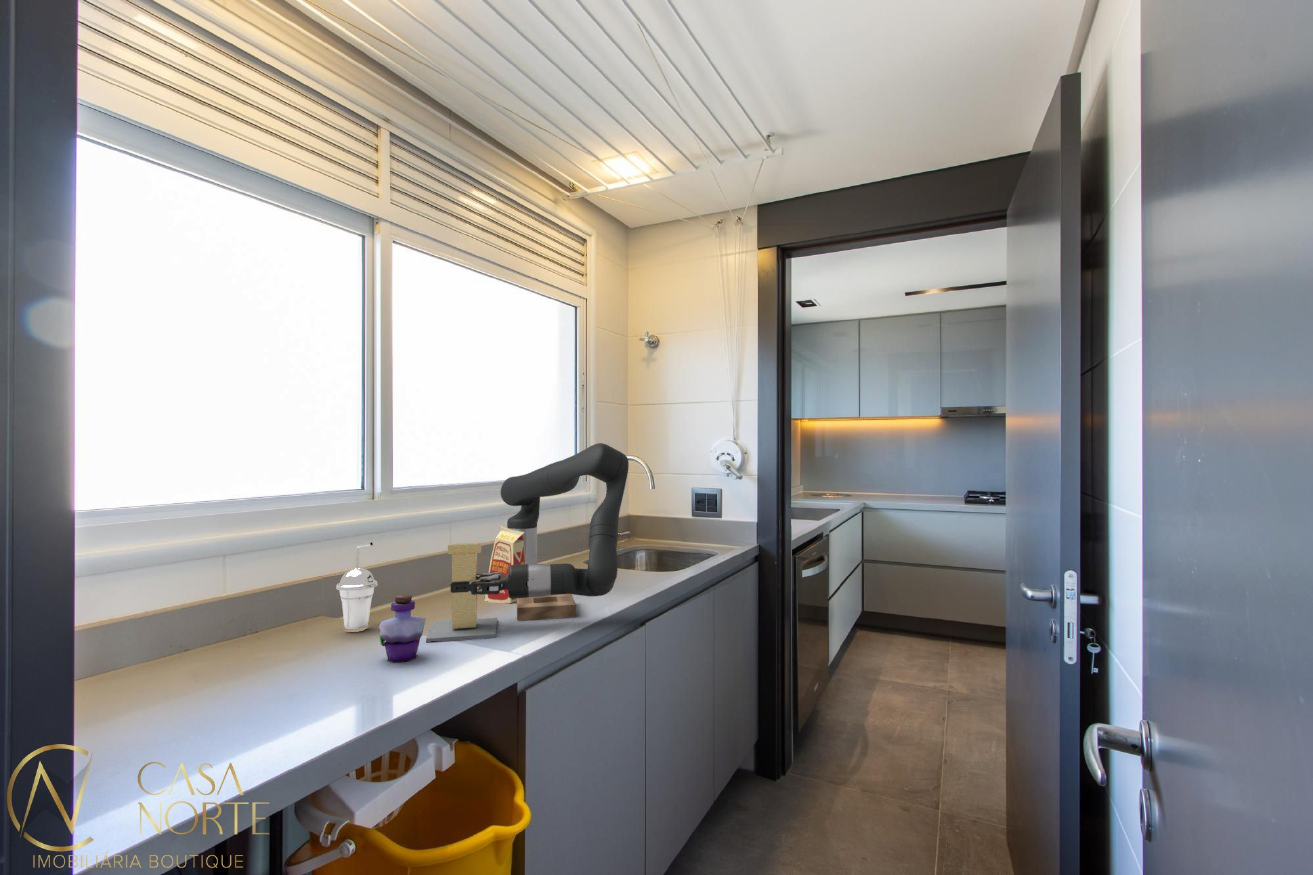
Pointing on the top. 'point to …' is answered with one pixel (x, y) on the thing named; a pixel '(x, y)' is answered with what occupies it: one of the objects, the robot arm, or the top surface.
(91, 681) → the top surface
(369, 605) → the cup with straw
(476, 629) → the slate mat
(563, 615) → the socket block
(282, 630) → the top surface
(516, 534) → the milk carton
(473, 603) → the pale yellow tall block
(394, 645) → the potion bottle
